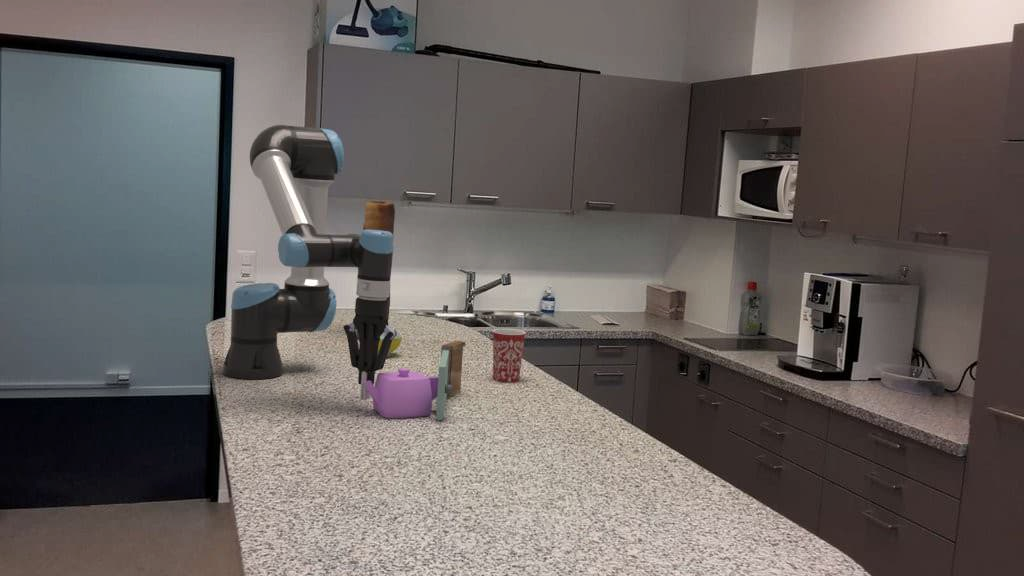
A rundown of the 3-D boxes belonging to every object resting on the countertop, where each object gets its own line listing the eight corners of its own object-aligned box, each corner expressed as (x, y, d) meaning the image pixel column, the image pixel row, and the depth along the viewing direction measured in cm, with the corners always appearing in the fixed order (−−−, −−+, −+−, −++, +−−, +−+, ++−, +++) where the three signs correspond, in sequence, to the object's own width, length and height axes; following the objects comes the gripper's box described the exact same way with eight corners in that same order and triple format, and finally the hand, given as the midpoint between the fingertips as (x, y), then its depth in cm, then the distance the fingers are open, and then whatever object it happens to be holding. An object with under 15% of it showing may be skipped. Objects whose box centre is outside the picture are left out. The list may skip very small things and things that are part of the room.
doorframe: (436, 398, 227) (439, 346, 226) (452, 390, 237) (455, 340, 235) (446, 400, 226) (449, 347, 225) (462, 392, 236) (465, 341, 234)
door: (440, 398, 226) (442, 350, 225) (452, 399, 226) (455, 350, 225) (436, 419, 206) (438, 366, 205) (449, 420, 206) (452, 367, 205)
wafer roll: (395, 339, 304) (402, 202, 299) (374, 343, 296) (380, 202, 290) (371, 335, 310) (377, 200, 305) (350, 338, 301) (356, 200, 296)
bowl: (355, 356, 273) (356, 335, 272) (375, 350, 284) (376, 330, 283) (388, 361, 269) (389, 340, 268) (407, 355, 280) (408, 335, 279)
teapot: (370, 421, 203) (372, 375, 201) (354, 409, 212) (357, 365, 211) (445, 416, 211) (448, 372, 210) (427, 404, 220) (430, 362, 219)
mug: (526, 383, 250) (529, 334, 249) (493, 383, 248) (496, 333, 247) (515, 373, 263) (518, 326, 261) (484, 373, 260) (487, 325, 259)
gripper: (339, 295, 210) (332, 397, 212) (389, 302, 205) (381, 406, 208) (356, 293, 217) (349, 391, 219) (404, 299, 213) (396, 400, 215)
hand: (364, 398), depth 214 cm, fingers closed
